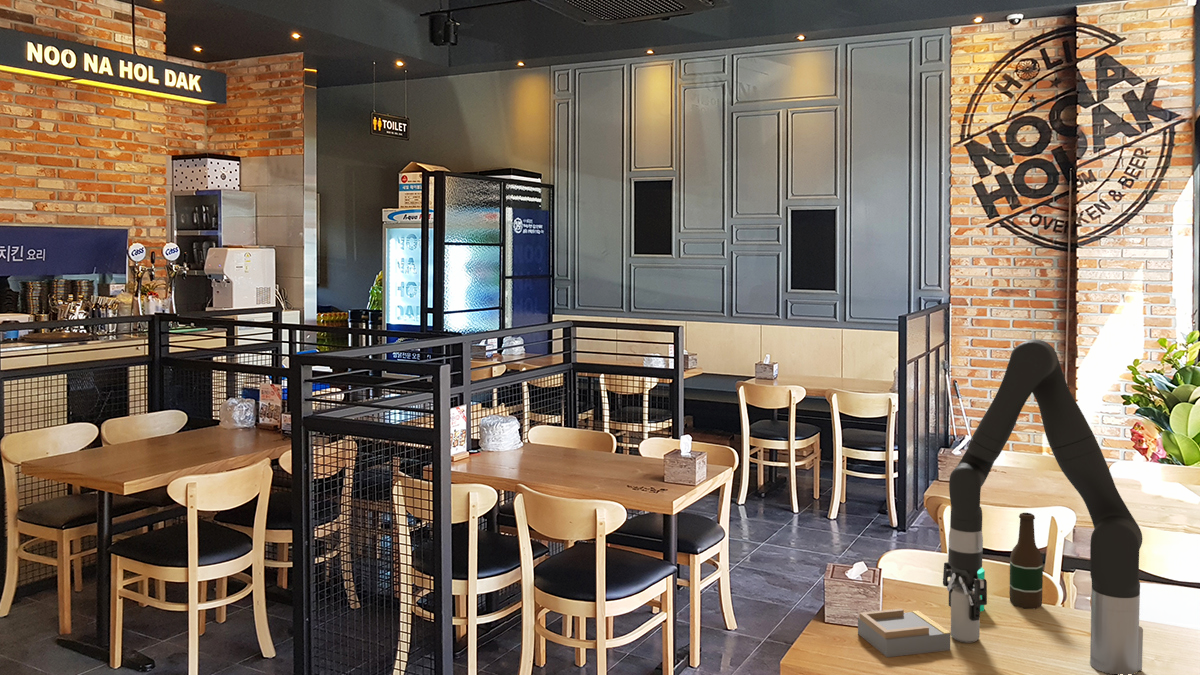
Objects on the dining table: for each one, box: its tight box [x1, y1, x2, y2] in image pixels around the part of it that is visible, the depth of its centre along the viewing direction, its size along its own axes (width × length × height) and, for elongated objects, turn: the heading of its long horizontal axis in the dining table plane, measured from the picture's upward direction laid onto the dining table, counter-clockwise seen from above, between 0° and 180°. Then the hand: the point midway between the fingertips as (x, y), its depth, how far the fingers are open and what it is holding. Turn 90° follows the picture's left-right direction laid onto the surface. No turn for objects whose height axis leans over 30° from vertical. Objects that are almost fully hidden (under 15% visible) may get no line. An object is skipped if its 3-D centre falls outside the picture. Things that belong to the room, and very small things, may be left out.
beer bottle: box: [1009, 512, 1044, 610], centre depth 241 cm, size 8×8×24 cm
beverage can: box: [950, 586, 981, 644], centre depth 220 cm, size 6×6×12 cm
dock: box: [857, 608, 951, 658], centre depth 220 cm, size 16×14×6 cm
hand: (963, 613), depth 221 cm, fingers open, 8 cm apart
